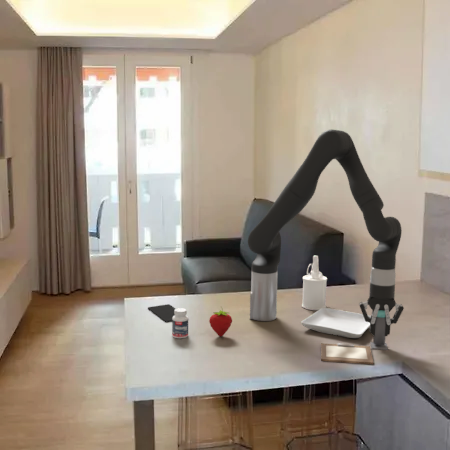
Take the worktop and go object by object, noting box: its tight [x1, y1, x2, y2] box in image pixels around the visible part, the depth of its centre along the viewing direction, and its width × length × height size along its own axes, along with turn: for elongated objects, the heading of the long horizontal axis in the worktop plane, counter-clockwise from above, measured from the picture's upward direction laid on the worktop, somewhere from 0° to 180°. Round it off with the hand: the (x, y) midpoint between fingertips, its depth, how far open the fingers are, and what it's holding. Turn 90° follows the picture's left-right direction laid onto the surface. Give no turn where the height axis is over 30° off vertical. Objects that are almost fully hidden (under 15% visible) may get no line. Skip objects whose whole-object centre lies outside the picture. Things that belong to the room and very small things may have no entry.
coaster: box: [370, 341, 389, 351], centre depth 188 cm, size 5×5×1 cm
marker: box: [372, 310, 387, 345], centre depth 187 cm, size 4×4×11 cm
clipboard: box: [320, 342, 374, 365], centre depth 182 cm, size 15×13×1 cm
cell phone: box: [147, 304, 176, 323], centre depth 219 cm, size 9×18×1 cm, turn 28°
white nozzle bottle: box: [301, 255, 328, 311], centre depth 228 cm, size 10×9×20 cm
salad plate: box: [300, 307, 371, 339], centre depth 205 cm, size 21×21×3 cm
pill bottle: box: [171, 307, 189, 339], centre depth 195 cm, size 5×5×9 cm
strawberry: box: [208, 306, 233, 337], centre depth 195 cm, size 6×8×10 cm
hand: (379, 334), depth 188 cm, fingers closed on marker, 3 cm apart
